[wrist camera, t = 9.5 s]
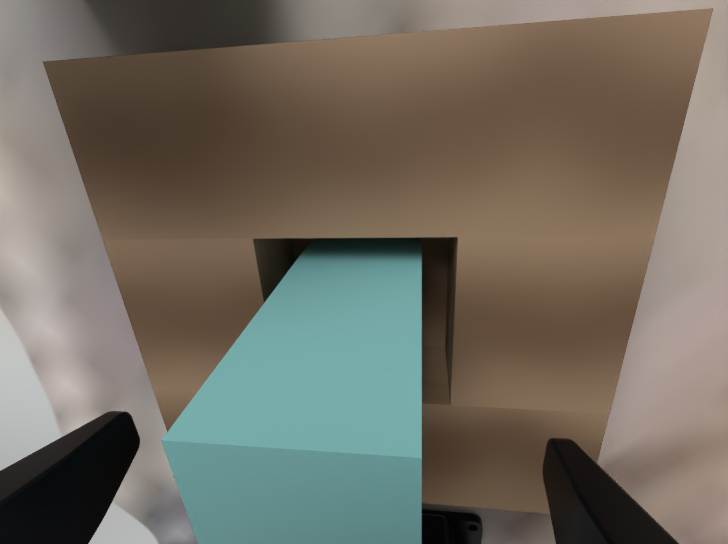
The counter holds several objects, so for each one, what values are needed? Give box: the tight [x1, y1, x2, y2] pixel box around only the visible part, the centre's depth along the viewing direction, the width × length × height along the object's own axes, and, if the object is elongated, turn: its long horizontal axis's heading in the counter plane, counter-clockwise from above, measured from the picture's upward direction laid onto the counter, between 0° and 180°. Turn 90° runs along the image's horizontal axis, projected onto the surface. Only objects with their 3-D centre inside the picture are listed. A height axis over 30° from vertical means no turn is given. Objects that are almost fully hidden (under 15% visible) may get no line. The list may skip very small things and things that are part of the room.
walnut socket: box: [43, 8, 713, 514], centre depth 14 cm, size 16×16×4 cm
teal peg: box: [161, 237, 422, 544], centre depth 11 cm, size 4×4×10 cm
